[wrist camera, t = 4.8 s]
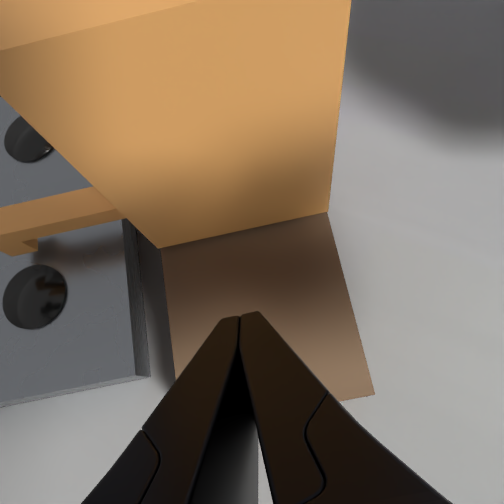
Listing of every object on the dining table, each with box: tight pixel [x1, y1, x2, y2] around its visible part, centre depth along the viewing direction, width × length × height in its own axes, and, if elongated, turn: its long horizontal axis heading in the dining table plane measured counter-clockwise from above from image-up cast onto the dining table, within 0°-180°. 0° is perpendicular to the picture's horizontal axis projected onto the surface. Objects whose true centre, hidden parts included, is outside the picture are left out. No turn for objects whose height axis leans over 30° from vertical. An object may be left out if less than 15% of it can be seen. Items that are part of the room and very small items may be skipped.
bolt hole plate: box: [0, 96, 151, 407], centre depth 19 cm, size 20×7×2 cm, turn 11°
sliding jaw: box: [0, 0, 351, 257], centre depth 11 cm, size 3×12×9 cm, turn 101°
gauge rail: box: [160, 212, 375, 401], centre depth 13 cm, size 21×12×12 cm, turn 10°
